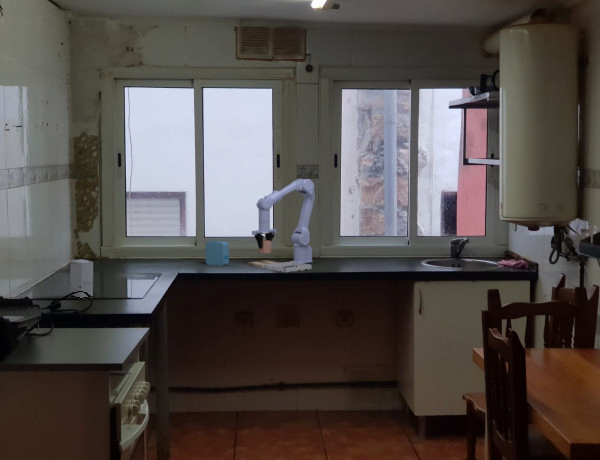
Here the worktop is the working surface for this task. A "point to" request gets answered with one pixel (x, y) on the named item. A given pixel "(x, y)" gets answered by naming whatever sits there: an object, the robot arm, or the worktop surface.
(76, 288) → the skincare box
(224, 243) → the data package
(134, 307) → the worktop surface
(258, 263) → the board
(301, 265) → the tray
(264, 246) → the terracotta block
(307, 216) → the robot arm
